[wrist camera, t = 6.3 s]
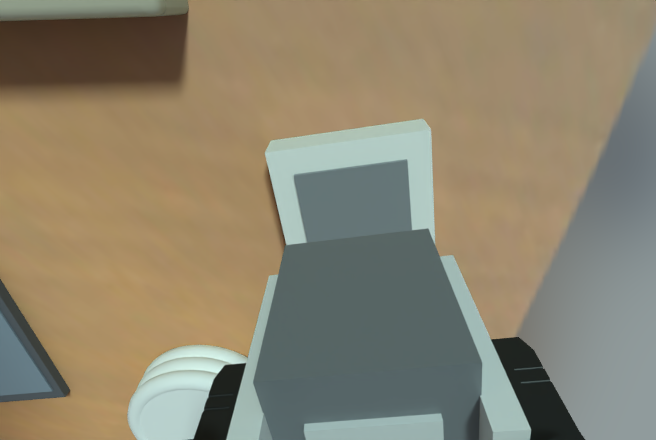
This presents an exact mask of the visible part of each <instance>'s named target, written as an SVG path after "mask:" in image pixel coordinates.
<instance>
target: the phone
mask: <svg viewBox="0 0 656 440" xmlns="http://www.w3.org/2000/svg"><path fill="white" fill-rule="evenodd" d="M69 391H70V389H69V387H68V386H67V384H66V383H65V381H64V379H63V378H62V376H61V375H60V373H59V371H58V370H57V368H56V367H55V365H54V364H53V362H52V360H51V359H50V357H49V356H48V354H47V352H46V351H45V349H44V348H43V346H42V345H41V343H40V341H39V340H38V338H37V337H36V335H35V333H34V332H33V330H32V329H31V327H30V325H29V324H28V322H27V321H26V319H25V318H24V316H23V314H22V313H21V311H20V310H19V308H18V306H17V305H16V303H15V302H14V300H13V299H12V297H11V295H10V294H9V292H8V291H7V289H6V287H5V286H4V284H3V283H2V281H1V279H0V402H8V401H20V400H33V399H45V398H57V397H66V395H67V394H68V392H69Z"/></svg>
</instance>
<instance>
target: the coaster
mask: <svg viewBox="0 0 656 440" xmlns="http://www.w3.org/2000/svg"><path fill="white" fill-rule="evenodd" d="M247 359H248V358H247V357H246V356H244V355H242V354H240V353H237V352H235V351H232V350H229V349H226V348H222V347H218V346H211V345H187V346H181V347H177V348H174V349H171V350H169V351H167V352H165V353H163V354H161V355H160V356H159V357H157V358H156V359H155V360H154V361H153V362H152V363H151V364H150V365H149V366H148V368H147V369H146V371H145V373H144V376H143V378H142V379H141V381H140V383H139V384H138V387H137V390H136V392H135V393H134V394H133V396H132V398H131V400H130V403H129V407H128V414H127V415H128V423H129V426H130V428H131V431H132V432H133V434H134V436H135V437H136V439H137V440H188V439H194V436H195V433H196V430H197V427H198V424H199V421H200V418H201V415H202V412H203V411H204V406H205V403H206V400H207V398H208V395H209V392H210V389H211V386H212V383H213V380H214V378H215V377H216V376H217V374H218V373H219V372H220V371H221V369H222V368H223V367H224V365H230V364H241V363H247Z"/></svg>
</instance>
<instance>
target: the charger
mask: <svg viewBox="0 0 656 440" xmlns="http://www.w3.org/2000/svg"><path fill="white" fill-rule="evenodd" d="M253 384H254V387H255V390H256V393H257V397H258V400H259V403H260V406H261V409H262V412H263V413H264V416H265V419H266V422H267V425H268V428H269V431H270V434H271V437H272V440H479V417H480V395H482V360H481V358H480V355H479V353H478V350H477V348H476V346H475V343H474V341H473V338H472V336H471V333H470V331H469V328H468V326H467V323H466V321H465V318H464V316H463V313H462V311H461V308H460V306H459V303H458V301H457V298H456V296H455V293H454V291H453V288H452V286H451V284H450V281H449V279H448V276H447V274H446V271H445V269H444V266H443V264H442V261H441V259H440V256H439V254H438V251H437V249H436V246H435V244H434V241H433V239H432V236H431V234H430V231H429V229H428V228H427V229H419V230H410V231H402V232H393V233H385V234H376V235H368V236H359V237H351V238H342V239H334V240H325V241H317V242H308V243H300V244H291V245H285V249H284V253H283V257H282V261H281V265H280V270H279V274H278V278H277V282H276V287H275V291H274V295H273V299H272V304H271V308H270V312H269V316H268V321H267V325H266V329H265V333H264V338H263V342H262V346H261V350H260V354H259V359H258V363H257V367H256V371H255V376H254V380H253Z"/></svg>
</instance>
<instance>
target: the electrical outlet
mask: <svg viewBox="0 0 656 440" xmlns="http://www.w3.org/2000/svg"><path fill="white" fill-rule="evenodd" d="M188 9H189V6H188V0H0V21H23V20H56V19H89V18H121V17H154V16H168V15H182V14H186V13H187V12H188Z"/></svg>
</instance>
